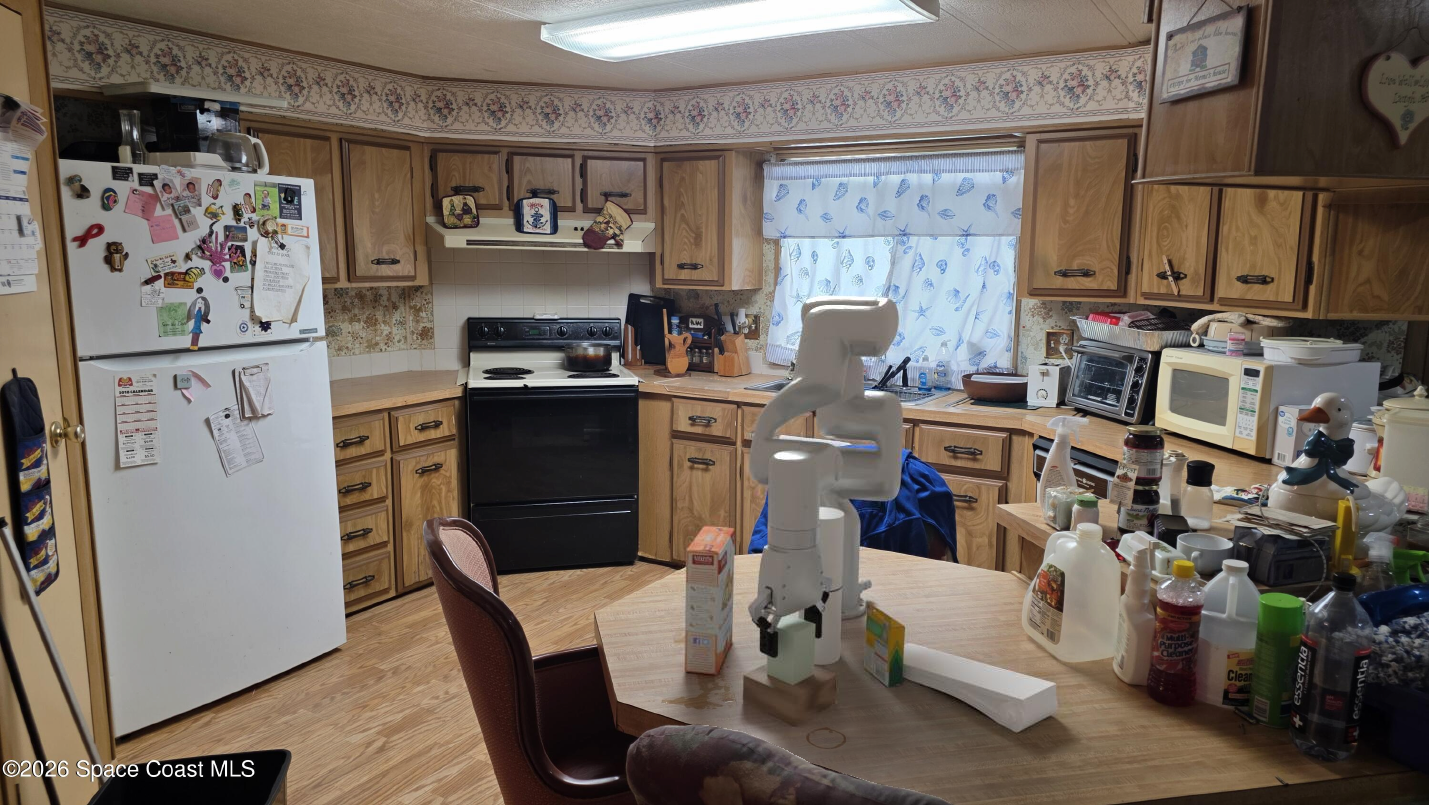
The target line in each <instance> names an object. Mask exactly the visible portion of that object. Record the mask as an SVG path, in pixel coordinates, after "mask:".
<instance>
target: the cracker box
mask: <svg viewBox="0 0 1429 805" xmlns="http://www.w3.org/2000/svg"><path fill="white" fill-rule="evenodd" d="M735 540H736V529H735V528H732V527H727V526H726V527H725V526H711V525H710V526H708V525H706V526H703V527H702V528H701V530H700V531H699V533H698V534H697V536H695V538H694V540H693V541H692V542H691V544H690V545H689V546H688V547H687V549H686V550H685V552H686V554H685V555H686V556H685V558H686V559H685V610H684V611H685V620H684V622H685V623H684V625H685V626H684V630H685V631H684V672H687V673H693V674H694V673H696V674H704V675H715V676H718V674H719V671H720V670H721V667H722V664H723V662H724V660H725V658H726V655H727V653H728V651H729V649H730V647H731V644H732V643H733V622H734V621H733V620H734V589H735V588H734V585H735V584H734V582H735V581H734V580H735V574H734V573H735V551H736V550H735V549H736V548H735V546H736V545H735V544H736V543H735Z"/></svg>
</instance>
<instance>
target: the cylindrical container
mask: <svg viewBox="0 0 1429 805" xmlns="http://www.w3.org/2000/svg"><path fill="white" fill-rule="evenodd" d="M819 524H820V527H819V542H820V547H821V554H822V564H823V576H826V577H828V578H831V579H832V580H833V583H832V586H831V589H830V592H829V598H828V600H827V601H826V603H825V607H826V608H825V611H824V612H823V613H822V637H821V638H819V639H817V638H815V652H814V665H818V666H819V665H820V666H824V665H825V666H826V665H831V664H835V663H836V662H838V661H840V659H841V658H840V657H841V632H842V629H841V628H842V619H841V606H842V572H843V539H844V512H842V511H840V510H838V509H834V508H827V507H820V509H819ZM798 618H800V619H803V620H804V609H803V610H800V611H798Z"/></svg>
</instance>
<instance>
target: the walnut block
mask: <svg viewBox="0 0 1429 805" xmlns="http://www.w3.org/2000/svg"><path fill="white" fill-rule="evenodd" d="M742 678H743V679H742V680H743V682H742V705H744V706H747V707H748V708H751V709H753V710H755V711H757V712H760V713H762V714H764V715H766V716H768V717H771V718H773V719H775V720H777V721H778V722H780V723H784V724H785V725H787V726H790V727H792V728H794V729H795V728H797V727H799V726H800V725H802V724H804V723H806V722H807V721H809V720H810V719H812V718H814V717H816V716H817V715H819V714H821V713H823V712H824V711H826V710H828V709H829V708H831V707H833V706H835V705H836V704H837V684H838V683H837V681H838V674H837V673H834V672H832V671H829V670H828V669H827V670H826V669H824V668H822V667H819V666H816V665H814V674H813V675H812V676H810V677H808V678H806V679H804V680H802V681H800V682H798V683H796V684H794V685H791V684H789V683H786V682H784V681H782V680H779V679H777V678H775V677H772V676H770V675H768V674H767V663H765V664H763V665H761V666H758V667H757V668H754V669H753V670H750V671H748V672H746V673H744V674H743V676H742Z"/></svg>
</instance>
